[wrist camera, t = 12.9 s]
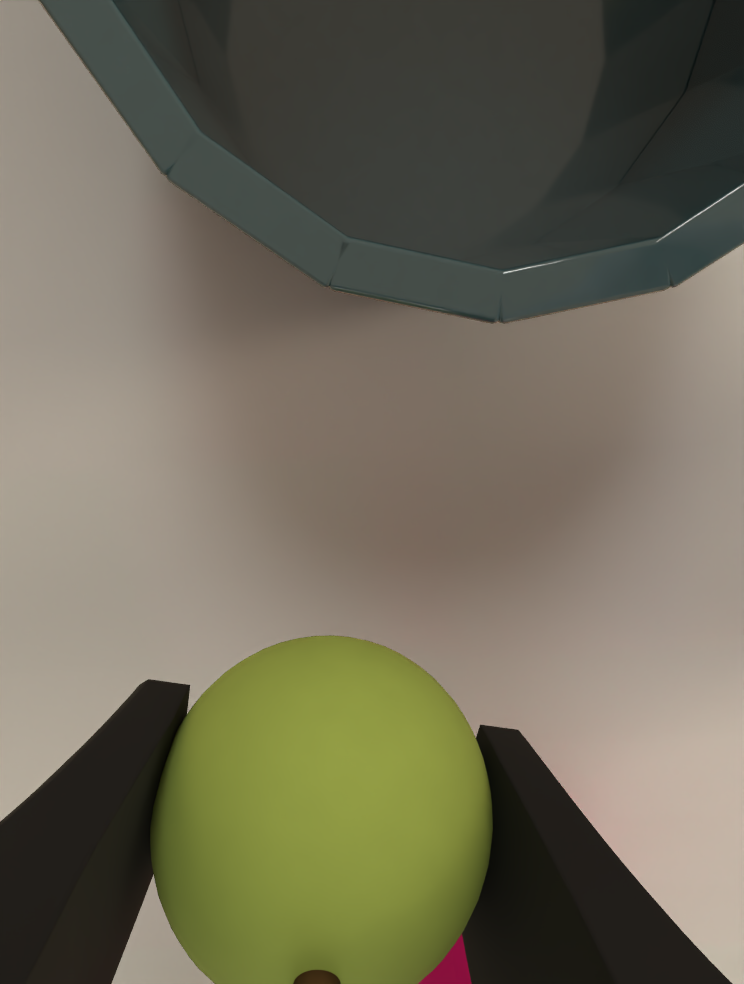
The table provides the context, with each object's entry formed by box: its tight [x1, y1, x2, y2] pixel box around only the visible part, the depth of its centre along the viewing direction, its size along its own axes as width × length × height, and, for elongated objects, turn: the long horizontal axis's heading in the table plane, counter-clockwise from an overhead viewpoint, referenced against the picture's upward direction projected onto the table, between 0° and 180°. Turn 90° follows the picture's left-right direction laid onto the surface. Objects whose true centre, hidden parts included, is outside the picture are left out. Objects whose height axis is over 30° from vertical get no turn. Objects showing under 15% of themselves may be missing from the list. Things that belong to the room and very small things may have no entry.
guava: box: [150, 636, 493, 984], centre depth 8 cm, size 5×5×5 cm
